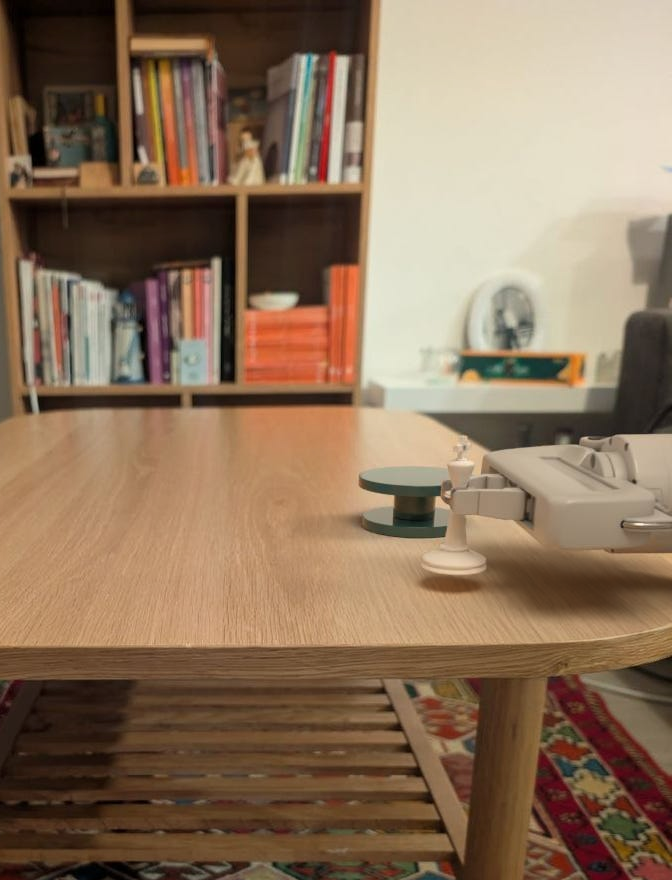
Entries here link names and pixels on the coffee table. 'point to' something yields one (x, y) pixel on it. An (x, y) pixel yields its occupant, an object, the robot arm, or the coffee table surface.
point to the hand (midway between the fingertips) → (446, 496)
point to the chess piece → (456, 526)
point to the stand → (407, 501)
